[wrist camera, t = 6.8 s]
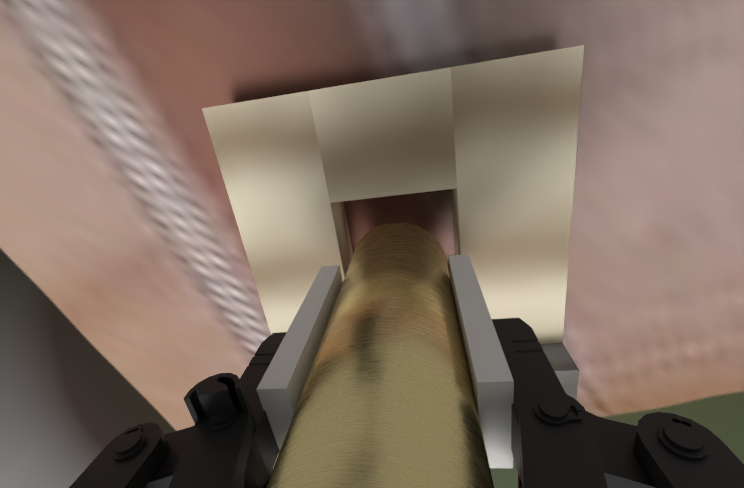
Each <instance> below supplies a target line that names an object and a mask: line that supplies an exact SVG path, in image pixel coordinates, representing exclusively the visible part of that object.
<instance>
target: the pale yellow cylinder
mask: <svg viewBox="0 0 744 488" xmlns="http://www.w3.org/2000/svg"><path fill="white" fill-rule="evenodd" d="M266 488H494V486H493V481H492V476H491V472H490V467H489V462H488V457H487V452H486V448H485V443H484V438H483V433H482V429H481V424H480V420H479V416H478V412H477V407H476V402H475V397H474V392H473V388H472V383H471V378H470V373H469V368H468V364H467V359H466V354H465V349H464V344H463V340H462V335H461V330H460V325H459V320H458V316H457V311H456V306H455V301H454V296H453V292H452V287H451V282H450V276H449V271H448V266H447V262H446V257H445V254H444V251H443V249H442V246H441V245H440V243H439V242H438V241H437V239H436V238H435V237H434V236H433V235H432V234H430V233H429V232H428V231H426V230H425V229H423V228H421V227H419V226H416V225H413V224H409V223H402V222H395V223H388V224H384V225H381V226H378V227H376V228H374V229H373V230H371V231H369V232H368V233H367V234H366V235H365V236H364V237H363V238H362V239H361V240H360V242H359V243H358V245H357V247H356V249H355V251H354V254H353V257H352V259H351V262H350V265H349V268H348V270H347V273H346V276H345V278H344V281H343V284H342V286H341V289H340V292H339V294H338V297H337V300H336V302H335V305H334V308H333V310H332V313H331V316H330V318H329V321H328V324H327V327H326V329H325V332H324V335H323V337H322V340H321V343H320V345H319V348H318V351H317V353H316V356H315V359H314V361H313V364H312V367H311V369H310V372H309V375H308V377H307V380H306V383H305V386H304V388H303V391H302V394H301V396H300V399H299V402H298V404H297V407H296V410H295V412H294V415H293V418H292V420H291V423H290V426H289V428H288V431H287V434H286V436H285V439H284V442H283V444H282V447H281V450H280V453H279V455H278V458H277V461H276V463H275V466H274V469H273V471H272V474H271V477H270V479H269V482H268V485H267V487H266Z"/></svg>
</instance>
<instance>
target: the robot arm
mask: <svg viewBox="0 0 744 488" xmlns="http://www.w3.org/2000/svg"><path fill="white" fill-rule="evenodd" d="M448 259H449V273H450V282H451V287H452V292H453V296H454V301H455V306H456V311H457V316H458V320H459V325H460V330H461V335H462V340H463V344H464V349H465V354H466V359H467V364H468V368H469V373H470V378H471V383H472V388H473V392H474V397H475V402H476V407H477V412H478V416H479V420H480V424H481V429H482V433H483V438H484V443H485V448H486V452H487V457H488V462H489V467H490V468H513V457H514V460H515V463H516V467H517V471H518V488H744V464H743V463H742V462H741V461H740V460H739V459H738V458H737V457H736V456H735V455H734V453H732V451H731V450H730V449H729V448H728V447H727V446H726V445H725V444H724V443H723V442H722V441H721V440H720V439H719V438H718V437H717V436H716V435H714V434H713V433H712V432H711V431H710V430H708V429H707V428H705V427H703V426H702V425H700V424H698V423H696V422H694V421H692V420H691V419H688V418H685V417H682V416H679V415H675V414H671V413H662V412H656V413H651V414H646V415H645V416H643V417H642V418H641V419H640V420H639V421H638V426H634V425H629V424H625V423H621V422H616V421H612V420H607V419H605V418H601V417H598V416H595V415H593V414H591V413H589V412H587V411H585V409H584V407H583V406H582V405H581V404H580V403H579V402H578V401H577V400H576V399H574V398H573V397H571V396H569V395H567V394H566V392H565V391H564V389H563V387H562V385H561V383H560V381H559V379H558V377H557V375H556V373H555V371H554V370H553V368H552V366H551V364H550V362H549V360H548V358H547V356H546V354H545V352H543V348H542V346H541V345H540V343H539V342H538V339H537V337H536V335H535V333H534V331H533V329H532V327H530V326H529V325H528V324H527V323H525V322H524V321H523V320H522V319H520V318H504V319H491V316H490V313H489V311H488V308H487V305H486V302H485V299H484V297H483V294H482V291H481V288H480V285H479V283H478V280H477V277H476V274H475V271H474V269H473V266H472V263H471V260H470V258H469V255H468V254H463V255H452V256H448ZM342 284H343V280H342V275H341V270H340V265H336V266H324V267H321V269H320V271H319V273H318V274H317V276H316V278H315V280H314V282H313V284H312V286H311V288H310V289H309V291H308V293H307V295H306V297H305V299H304V301H303V303H302V305H301V306H300V308H299V310H298V312H297V314H296V316H295V318H294V320H293V321H292V323H291V325H290V327H289V329H288V331H287V332H281V333H273V334H272V335H270V336H269V337H268V338H267V339H266V340H265V341H264V342H262V343H261V345H260V347H259V348H258V350H257V352H256V353H255V357H253V358H252V360H251V361H250V363H249V366H247V368H246V370H245V371H244V373H243V375H242V376H241V378H240V379H239V378H238V376H237V375H234V374H231V373H220V374H217V375H214V376H211V377H208V378H206V379H205V380H203V381H201V382H199V383H198V384H197V385H195V386H194V387H193V388H192V389H191V390H190V391H189V392H188V393H187V395H186V396H185V397H184V401H185V403H186V405H187V407H188V409H189V412H190V414H191V416H192V418H193V420H194V422H195V426H192V427H189V428H186V429H183V430H179V431H176V432H173V433H169V434H166V435H164V434H163V431H162V430H161V428H160V427H159V425H158V424H155V423H151V422H150V423H144V424H139V425H137V426H134V427H132V428H130V429H128V430H126V431H125V432H123V433H122V434H120V435H119V436H117V437H116V438H115V439H114V440H112V441H111V442H110V443H109V444H108V445H107V446H106V447H105V448H104V449H103V450H102V452H101V453H100V454H99V455H98V456H97V457H96V459H94V461H93V462H92V463H91V464H90V465H89V466H88V467H87V468H86V470H85V471H84V472H83V473H82V474H81V475H80V476H79V477H78V478H77V480H76V481H75V482H74V483H73V484H72V485H71V486H70V487H69V488H266V487H267V485H268V482H269V479H270V477H271V474H272V471H273V466H274V463H275V461H276V458H277V455H278V453H280V450H281V447H282V444H283V442H284V439H285V436H286V434H287V431H288V428H289V426H290V423H291V420H292V418H293V415H294V412H295V410H296V407H297V404H298V402H299V399H300V396H301V394H302V391H303V388H304V386H305V383H306V380H307V377H308V375H309V372H310V369H311V367H312V364H313V361H314V359H315V356H316V353H317V351H318V348H319V345H320V343H321V340H322V337H323V335H324V332H325V329H326V327H327V324H328V321H329V318H330V316H331V313H332V310H333V308H334V305H335V302H336V300H337V297H338V294H339V292H340V289H341V286H342Z"/></svg>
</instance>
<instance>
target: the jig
mask: <svg viewBox="0 0 744 488" xmlns="http://www.w3.org/2000/svg"><path fill="white" fill-rule="evenodd" d="M583 55H584V45H580V46H574V47H568V48H562V49H556V50H550V51H544V52H538V53H532V54H526V55H520V56H514V57H508V58H502V59H496V60H490V61H484V62H478V63H472V64H466V65H460V66H454V67H448V68H442V69H436V70H430V71H424V72H418V73H412V74H406V75H400V76H394V77H388V78H382V79H376V80H370V81H364V82H358V83H352V84H346V85H340V86H334V87H328V88H322V89H316V90H310V91H304V92H298V93H292V94H286V95H280V96H274V97H268V98H262V99H256V100H250V101H244V102H238V103H232V104H226V105H220V106H214V107H208V108H202V111H203V114H204V117H205V120H206V124H207V127H208V130H209V133H210V137H211V140H212V143H213V146H214V150H215V153H216V156H217V160H218V163H219V166H220V169H221V173H222V176H223V179H224V182H225V186H226V189H227V192H228V195H229V199H230V202H231V205H232V209H233V212H234V215H235V218H236V222H237V225H238V228H239V231H240V235H241V238H242V241H243V244H244V248H245V251H246V254H247V257H248V261H249V264H250V267H251V271H252V274H253V277H254V280H255V284H256V287H257V290H258V293H259V297H260V300H261V303H262V306H263V310H264V313H265V316H266V320H267V323H268V326H269V329H270V333H271V335H272V334H273V333H281V332H287V331H288V329H289V327H290V325H291V323H292V321H293V320H294V318H295V316H296V314H297V312H298V310H299V308H300V306H301V305H302V303H303V301H304V299H305V297H306V295H307V293H308V291H309V289H310V288H311V286H312V284H313V282H314V280H315V278H316V276H317V274H318V273H319V271H320V269H321V267H324V266H336V265H340V270H341V275H342V280H343V281H344V278H345V276H346V273H347V270H348V268H349V265H350V262H351V259H352V257H353V249H352V243H351V238H350V232H349V227H348V221H347V216H346V210H345V204H344V201H351V200H360V199H369V198H378V197H386V196H395V195H404V194H412V193H421V192H430V191H439V190H447V189H451V192H452V208H453V225H454V241H455V255H463V254H468V255H469V258H470V260H471V263H472V266H473V269H474V271H475V274H476V277H477V280H478V283H479V285H480V288H481V291H482V294H483V297H484V299H485V302H486V305H487V308H488V311H489V313H490V316H491V319H504V318H520V319H522V320H523V321H524V322H525V323H527V324H528V325H529V326H530V327H532V329H533V331H534V333H535V335H536V337H537V339H538V342H539V343H540V345H541V346H542V348H543V352H545V354H546V356H547V358H548V360H549V362H550V364H551V366H552V368H553V370H554V371H555V373H556V375H557V377H558V379H559V381H560V383H561V385H562V387H563V389H564V391H565V392H566V394H567V395H569V396H571V397H573V398H574V399H576V396H577V385H578V375H579V369H578V368H577V366H576V364H575V363H574V361H573V360H572V358H571V356H570V355H569V353H568V351H567V350H566V348H565V346H564V345H563V343H562V342H563V329H564V315H565V301H566V287H567V274H568V260H569V246H570V233H571V219H572V205H573V192H574V178H575V164H576V150H577V137H578V123H579V109H580V96H581V82H582V68H583ZM449 276H450V275H449Z"/></svg>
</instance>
